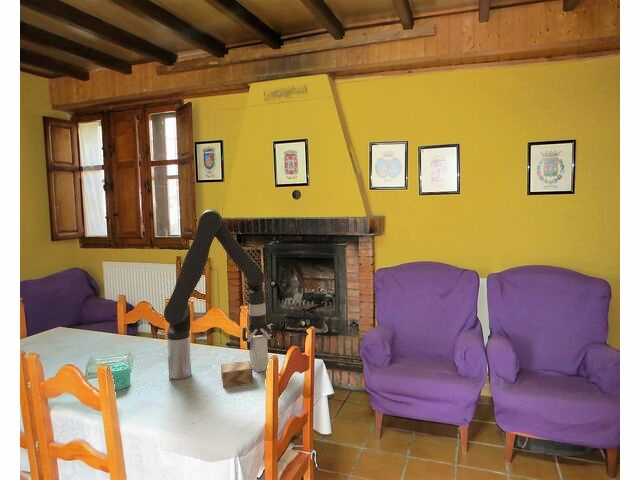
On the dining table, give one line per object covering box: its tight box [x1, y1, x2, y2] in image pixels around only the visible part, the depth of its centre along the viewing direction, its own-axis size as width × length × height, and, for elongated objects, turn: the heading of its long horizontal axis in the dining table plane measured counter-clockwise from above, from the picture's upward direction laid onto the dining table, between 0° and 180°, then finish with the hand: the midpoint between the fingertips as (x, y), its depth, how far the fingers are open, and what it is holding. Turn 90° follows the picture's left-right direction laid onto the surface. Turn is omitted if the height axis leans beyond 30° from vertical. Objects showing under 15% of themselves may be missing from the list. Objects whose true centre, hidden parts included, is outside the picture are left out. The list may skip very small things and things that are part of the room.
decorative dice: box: [109, 363, 131, 391], centre depth 174 cm, size 8×8×8 cm
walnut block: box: [220, 360, 254, 388], centre depth 177 cm, size 12×10×6 cm
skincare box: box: [248, 334, 269, 373], centre depth 190 cm, size 8×6×15 cm
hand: (259, 348), depth 189 cm, fingers open, 8 cm apart
